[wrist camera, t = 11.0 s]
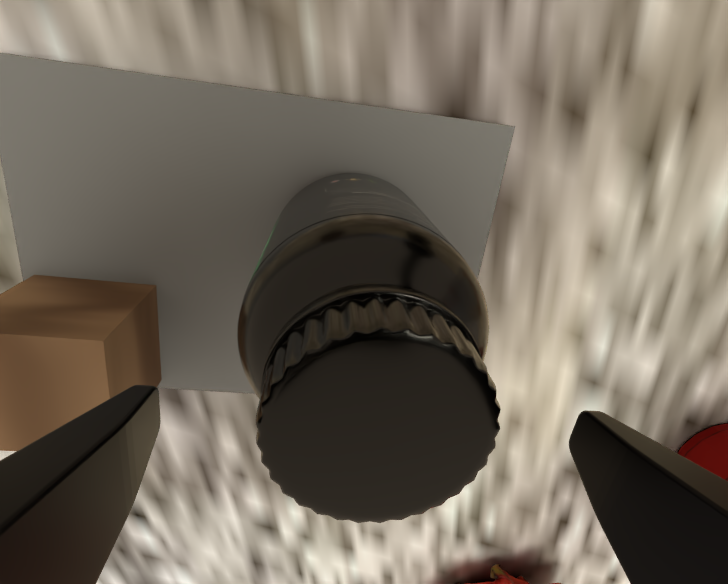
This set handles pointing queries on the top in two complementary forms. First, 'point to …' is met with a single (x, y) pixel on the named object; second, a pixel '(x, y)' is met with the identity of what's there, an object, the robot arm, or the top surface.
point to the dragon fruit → (503, 577)
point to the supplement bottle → (366, 354)
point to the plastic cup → (709, 450)
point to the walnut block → (71, 350)
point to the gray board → (209, 187)
